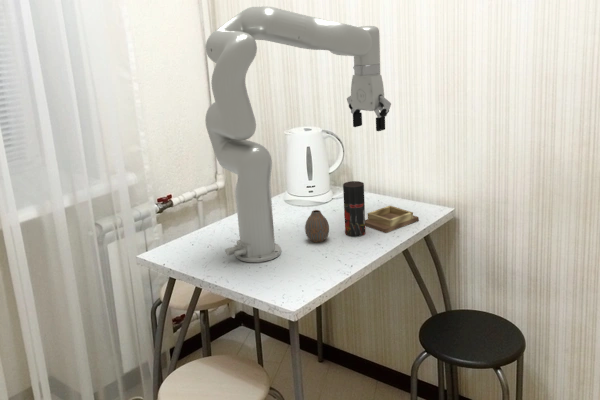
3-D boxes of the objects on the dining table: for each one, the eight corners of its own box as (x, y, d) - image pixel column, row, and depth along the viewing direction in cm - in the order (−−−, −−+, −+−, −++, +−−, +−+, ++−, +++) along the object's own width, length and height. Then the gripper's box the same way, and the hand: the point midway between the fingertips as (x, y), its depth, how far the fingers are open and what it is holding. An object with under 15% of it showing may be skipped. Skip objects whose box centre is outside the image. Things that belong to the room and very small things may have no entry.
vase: (327, 244, 186) (326, 215, 183) (303, 244, 188) (301, 215, 185) (331, 235, 193) (329, 207, 190) (308, 235, 194) (306, 207, 191)
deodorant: (366, 236, 190) (364, 186, 186) (345, 237, 191) (343, 187, 186) (364, 229, 196) (363, 180, 191) (344, 230, 196) (342, 181, 192)
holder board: (385, 233, 192) (385, 222, 191) (362, 224, 199) (361, 214, 198) (418, 220, 200) (418, 210, 199) (394, 213, 207) (394, 203, 206)
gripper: (337, 70, 195) (340, 127, 201) (379, 73, 182) (381, 134, 188) (356, 67, 200) (358, 122, 205) (398, 70, 187) (399, 129, 192)
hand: (369, 128), depth 196 cm, fingers open, 9 cm apart
